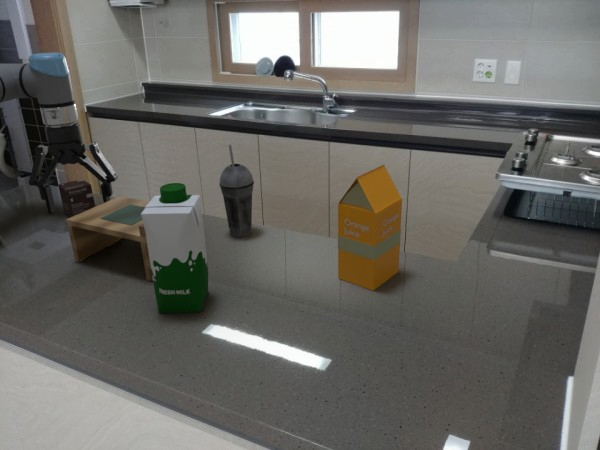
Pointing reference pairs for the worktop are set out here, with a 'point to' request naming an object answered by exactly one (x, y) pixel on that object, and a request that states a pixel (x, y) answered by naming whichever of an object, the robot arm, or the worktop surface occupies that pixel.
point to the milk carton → (176, 249)
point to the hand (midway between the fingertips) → (80, 210)
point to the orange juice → (369, 230)
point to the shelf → (109, 228)
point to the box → (76, 197)
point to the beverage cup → (237, 197)
